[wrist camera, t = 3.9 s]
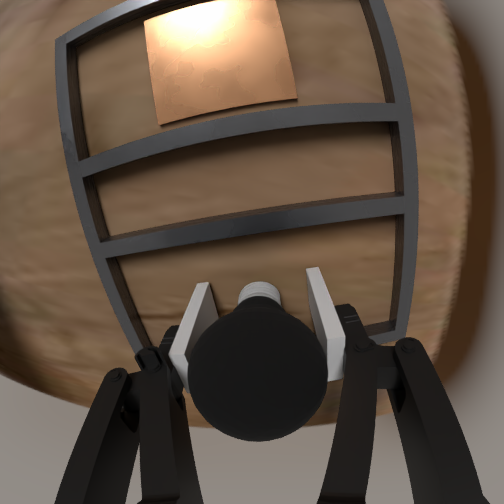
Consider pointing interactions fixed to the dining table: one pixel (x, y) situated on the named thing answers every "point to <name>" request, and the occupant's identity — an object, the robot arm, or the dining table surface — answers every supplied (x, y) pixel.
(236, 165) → the dining table surface
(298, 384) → the light bulb
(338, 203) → the gray divided frame
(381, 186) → the dining table surface
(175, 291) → the dining table surface
